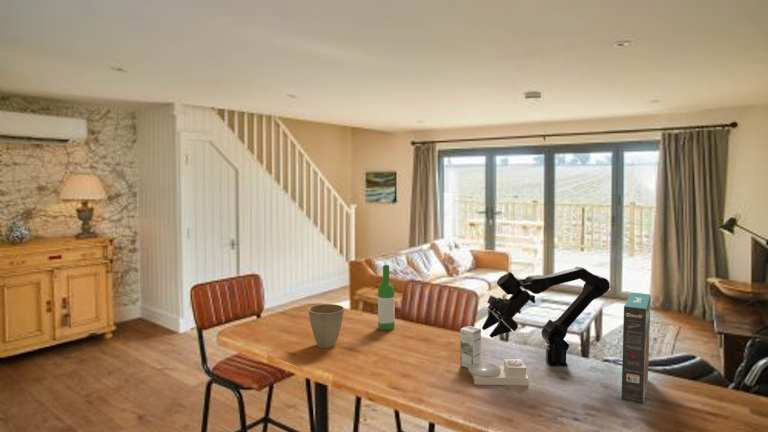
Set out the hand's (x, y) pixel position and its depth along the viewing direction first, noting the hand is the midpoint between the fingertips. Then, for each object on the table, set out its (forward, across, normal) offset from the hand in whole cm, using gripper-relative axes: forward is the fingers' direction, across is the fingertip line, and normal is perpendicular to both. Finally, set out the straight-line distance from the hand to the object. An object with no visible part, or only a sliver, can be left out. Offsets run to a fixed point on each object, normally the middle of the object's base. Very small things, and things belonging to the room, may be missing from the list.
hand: (486, 332), depth 183 cm
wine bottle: (+32, -51, -14) cm, 62 cm away
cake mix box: (-21, +26, +39) cm, 51 cm away
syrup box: (+13, 0, +5) cm, 14 cm away
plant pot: (+52, -30, -33) cm, 68 cm away
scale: (+8, +12, +9) cm, 17 cm away
